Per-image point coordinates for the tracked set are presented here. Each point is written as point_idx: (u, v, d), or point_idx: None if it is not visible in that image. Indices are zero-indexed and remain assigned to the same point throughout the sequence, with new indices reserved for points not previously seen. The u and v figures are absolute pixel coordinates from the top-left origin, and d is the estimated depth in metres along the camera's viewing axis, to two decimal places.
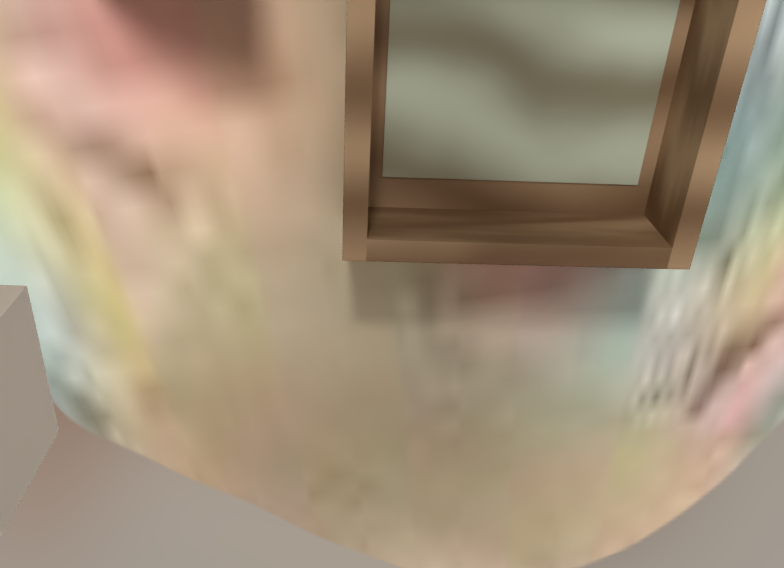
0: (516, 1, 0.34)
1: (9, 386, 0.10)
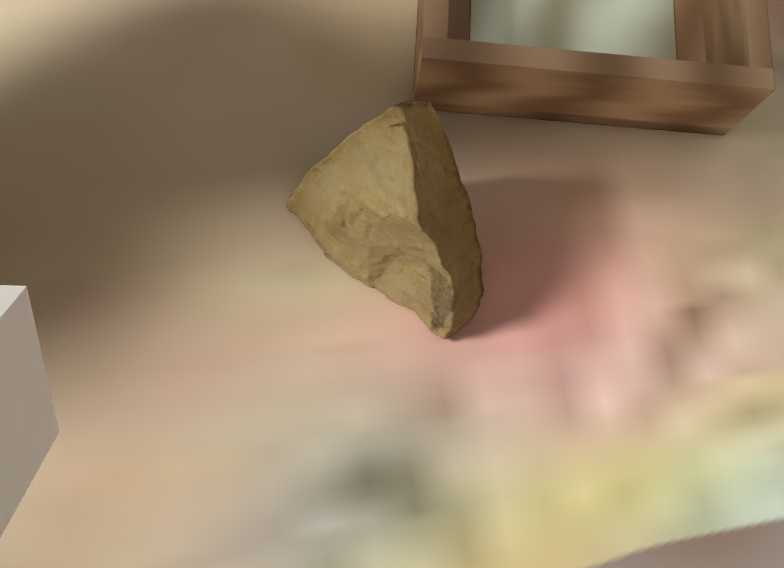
0: None
1: (9, 386, 0.10)
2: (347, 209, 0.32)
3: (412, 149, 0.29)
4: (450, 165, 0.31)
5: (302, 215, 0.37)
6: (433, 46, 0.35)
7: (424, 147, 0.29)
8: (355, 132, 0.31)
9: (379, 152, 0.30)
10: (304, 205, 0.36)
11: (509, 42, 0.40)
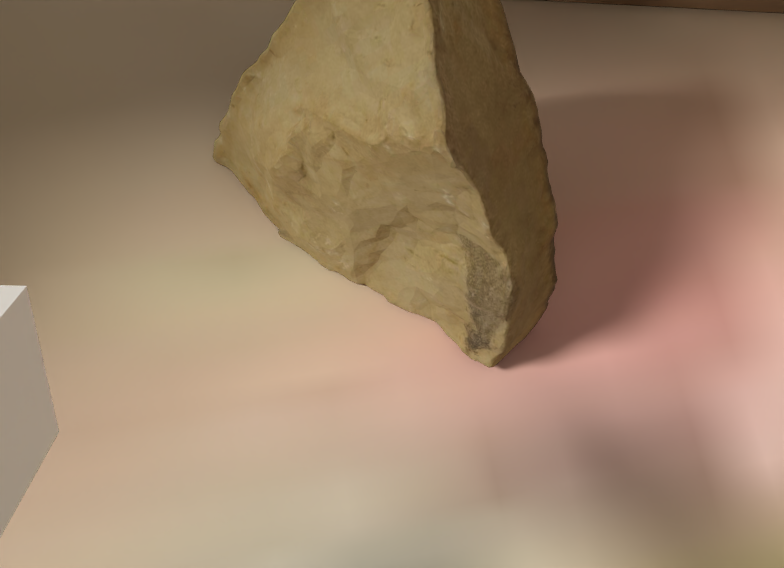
0: None
1: (9, 386, 0.10)
2: (307, 139, 0.17)
3: None
4: (501, 37, 0.16)
5: (239, 169, 0.22)
6: None
7: None
8: None
9: (360, 13, 0.15)
10: (239, 150, 0.21)
11: None
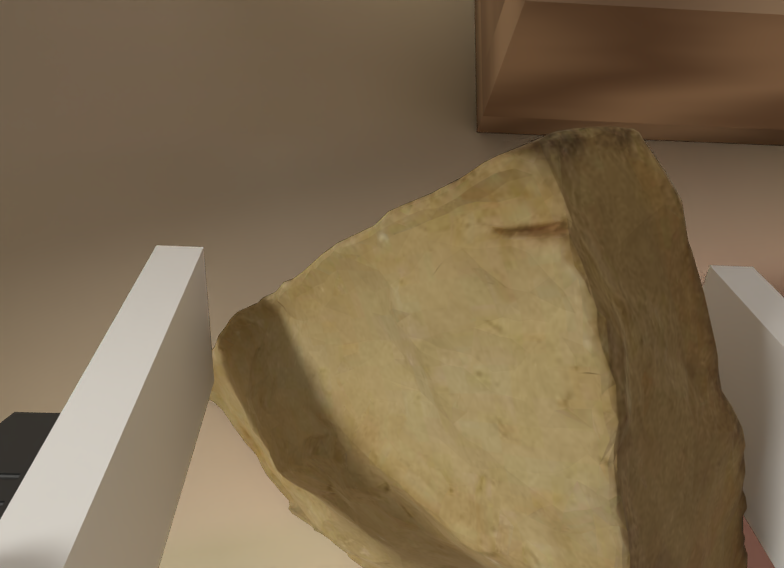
0: None
1: (194, 333, 0.11)
2: (340, 473, 0.10)
3: (611, 343, 0.07)
4: (701, 349, 0.09)
5: (232, 412, 0.15)
6: None
7: (638, 314, 0.07)
8: (355, 241, 0.09)
9: (448, 323, 0.08)
10: (231, 396, 0.14)
11: None
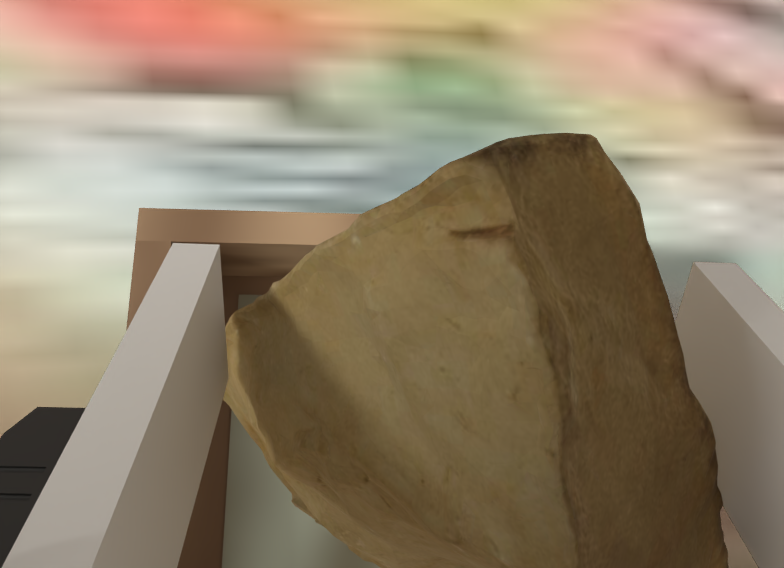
0: None
1: (211, 330, 0.11)
2: (325, 464, 0.11)
3: (553, 339, 0.07)
4: (664, 347, 0.09)
5: (237, 408, 0.16)
6: None
7: (588, 312, 0.08)
8: (332, 243, 0.09)
9: (413, 321, 0.08)
10: (234, 392, 0.15)
11: None
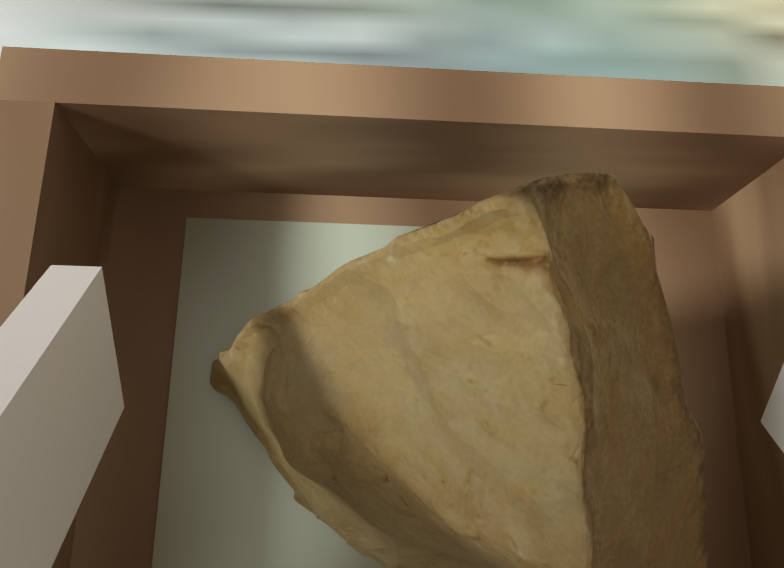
0: (285, 554, 0.16)
1: (88, 360, 0.10)
2: (345, 465, 0.11)
3: (581, 359, 0.08)
4: (666, 366, 0.10)
5: (243, 407, 0.16)
6: None
7: (607, 335, 0.08)
8: (366, 260, 0.10)
9: (445, 337, 0.09)
10: (244, 392, 0.15)
11: None
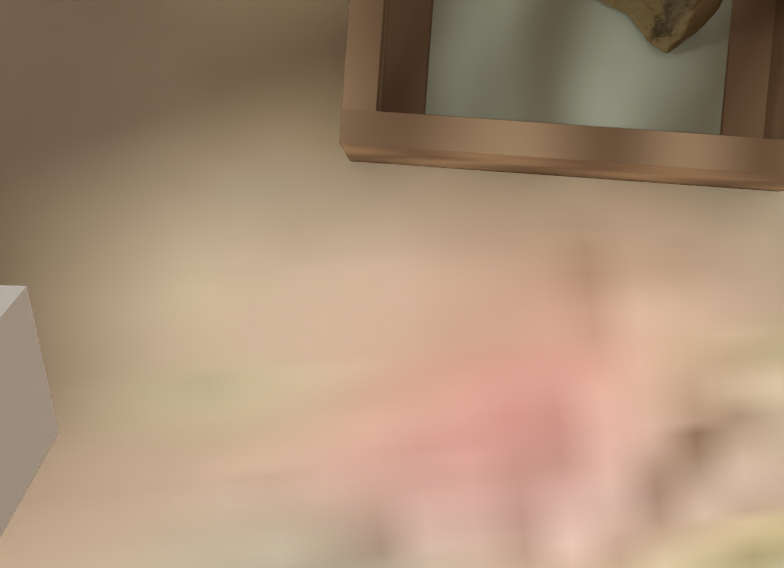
0: None
1: (9, 386, 0.10)
2: None
3: None
4: None
5: None
6: (356, 124, 0.25)
7: None
8: None
9: None
10: None
11: (484, 64, 0.29)
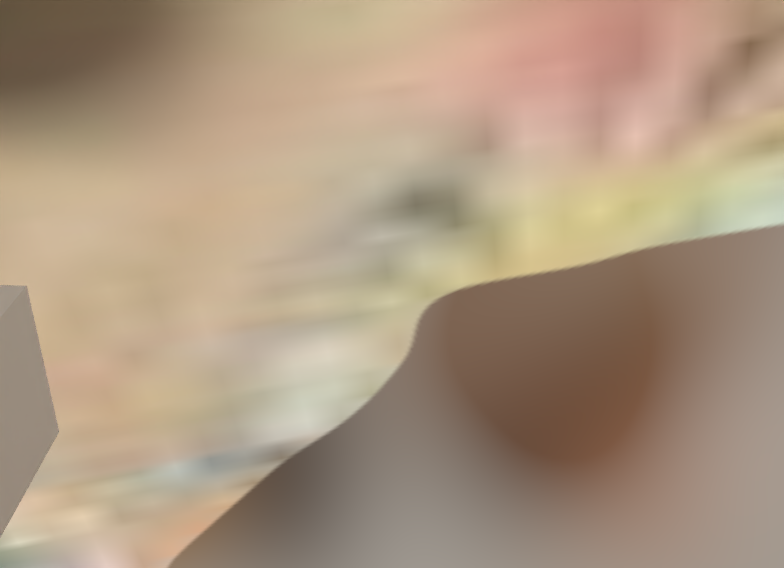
0: None
1: (9, 386, 0.10)
2: None
3: None
4: None
5: None
6: None
7: None
8: None
9: None
10: None
11: None
